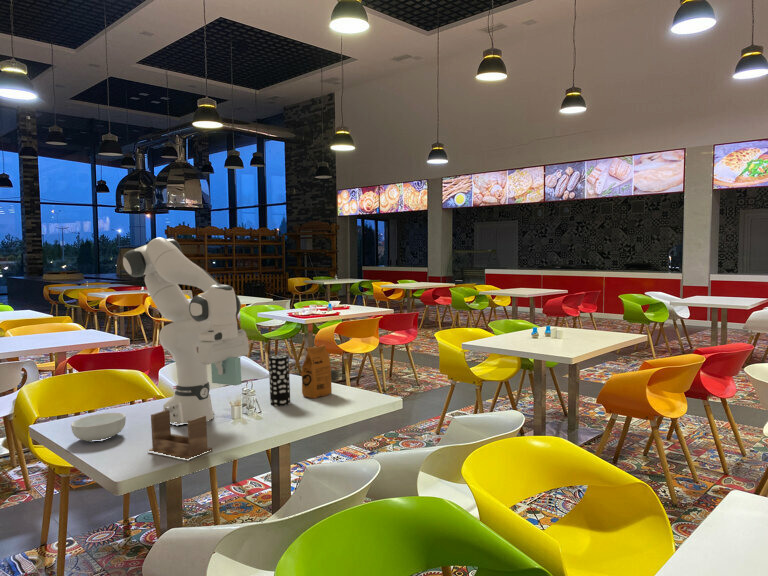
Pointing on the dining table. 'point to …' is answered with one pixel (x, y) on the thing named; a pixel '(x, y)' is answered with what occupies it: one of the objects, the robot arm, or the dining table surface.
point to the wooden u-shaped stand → (178, 436)
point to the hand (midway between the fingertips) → (225, 372)
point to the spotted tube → (279, 380)
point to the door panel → (228, 372)
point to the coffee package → (316, 373)
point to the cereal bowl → (98, 426)
